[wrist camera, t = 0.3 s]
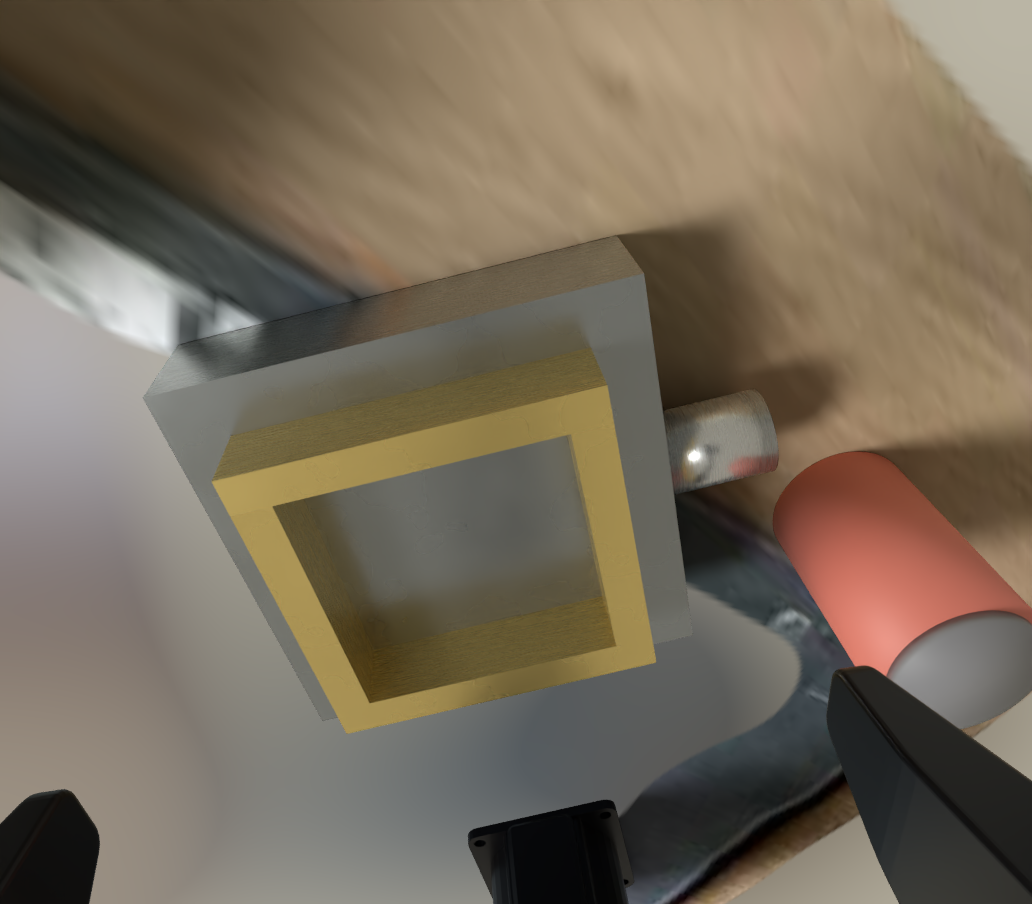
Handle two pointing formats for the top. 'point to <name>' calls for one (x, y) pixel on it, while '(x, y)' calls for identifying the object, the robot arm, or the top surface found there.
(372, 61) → the top surface
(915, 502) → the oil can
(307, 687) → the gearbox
